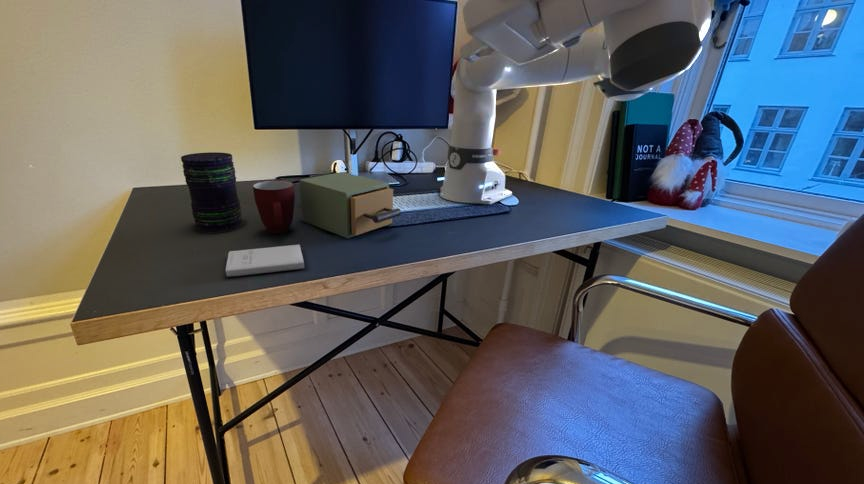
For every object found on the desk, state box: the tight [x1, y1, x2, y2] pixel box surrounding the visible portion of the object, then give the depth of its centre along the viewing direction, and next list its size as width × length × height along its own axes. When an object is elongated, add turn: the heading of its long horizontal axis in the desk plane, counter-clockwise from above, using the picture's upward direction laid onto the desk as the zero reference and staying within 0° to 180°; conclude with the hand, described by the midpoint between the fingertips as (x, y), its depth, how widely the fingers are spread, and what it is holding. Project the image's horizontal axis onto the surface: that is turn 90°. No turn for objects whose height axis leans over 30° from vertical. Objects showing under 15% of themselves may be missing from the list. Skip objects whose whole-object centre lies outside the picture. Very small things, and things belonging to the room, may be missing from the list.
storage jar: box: [180, 151, 244, 234], centre depth 78 cm, size 10×10×15 cm
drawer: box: [349, 187, 402, 237], centre depth 80 cm, size 19×11×8 cm, turn 47°
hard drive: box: [225, 244, 305, 278], centre depth 64 cm, size 2×8×12 cm
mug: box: [252, 180, 296, 235], centre depth 76 cm, size 11×8×10 cm
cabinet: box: [298, 171, 390, 239], centre depth 83 cm, size 16×13×10 cm
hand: (464, 55), depth 56 cm, fingers closed
